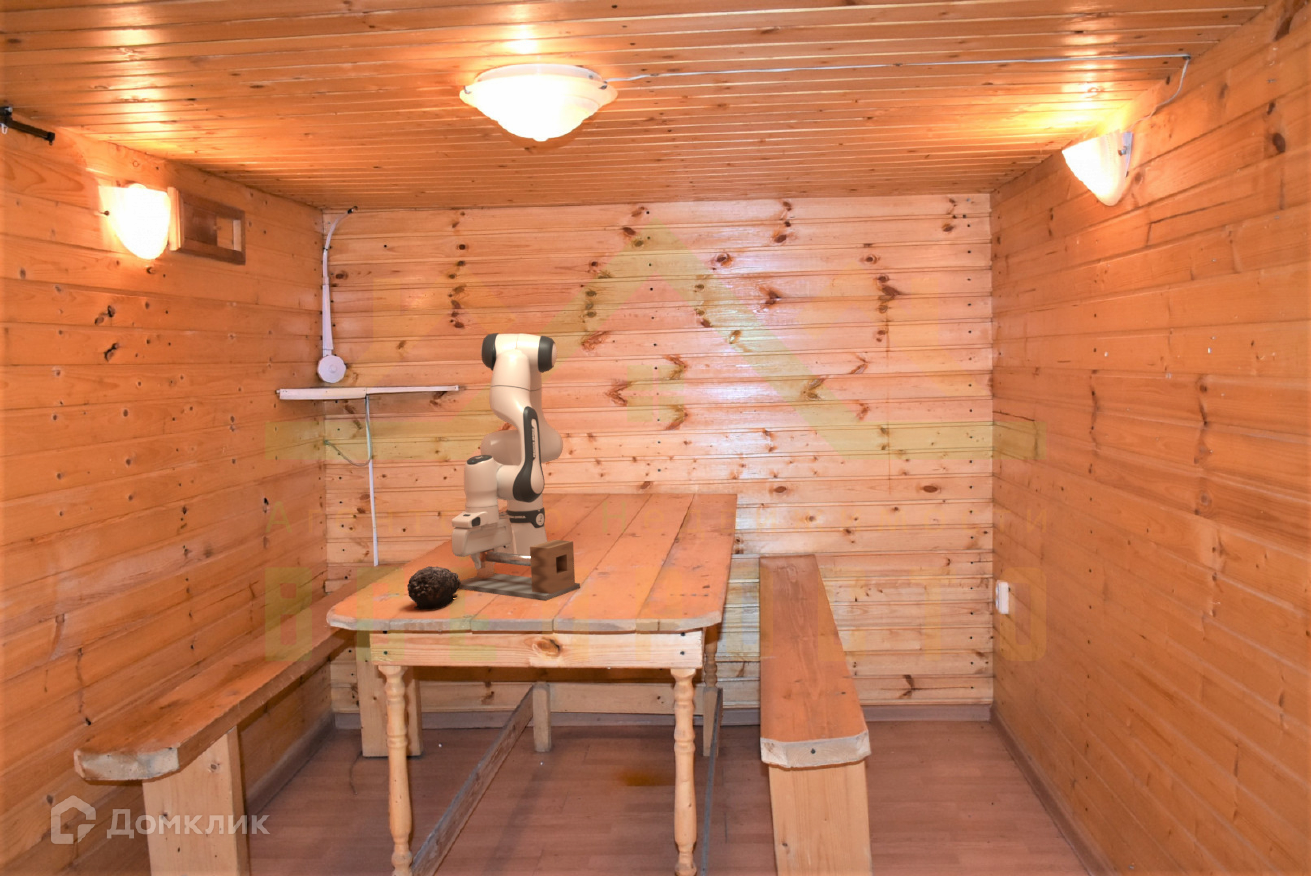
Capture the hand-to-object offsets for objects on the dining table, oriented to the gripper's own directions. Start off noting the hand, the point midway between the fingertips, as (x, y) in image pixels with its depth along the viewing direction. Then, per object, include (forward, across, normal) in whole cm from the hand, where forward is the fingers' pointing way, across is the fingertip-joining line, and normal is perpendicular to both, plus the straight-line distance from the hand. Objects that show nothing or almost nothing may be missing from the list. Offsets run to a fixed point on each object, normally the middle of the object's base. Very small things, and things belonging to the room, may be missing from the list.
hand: (484, 566), depth 251 cm
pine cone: (+5, +20, +2) cm, 21 cm away
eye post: (+5, 0, +11) cm, 12 cm away
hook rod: (+3, 0, +9) cm, 9 cm away
